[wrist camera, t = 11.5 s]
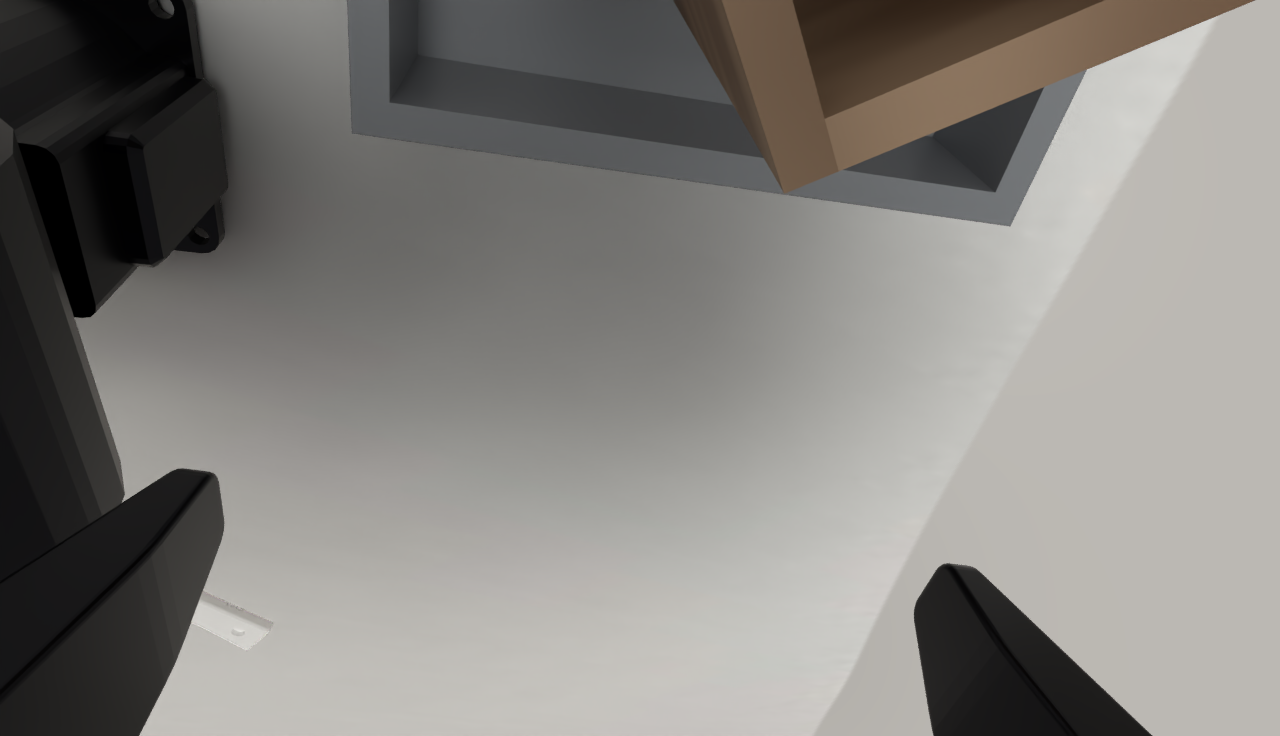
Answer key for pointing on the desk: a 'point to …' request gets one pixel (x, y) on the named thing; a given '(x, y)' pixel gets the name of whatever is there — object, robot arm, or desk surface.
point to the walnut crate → (904, 64)
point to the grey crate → (648, 104)
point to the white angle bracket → (230, 621)
